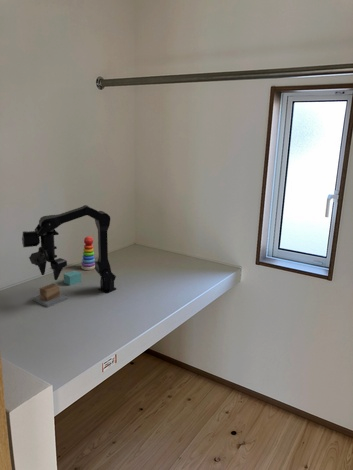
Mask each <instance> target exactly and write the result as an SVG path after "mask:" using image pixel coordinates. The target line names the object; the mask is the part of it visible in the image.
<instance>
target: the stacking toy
mask: <svg viewBox="0 0 353 470" xmlns="http://www.w3.org/2000/svg"><path fill="white" fill-rule="evenodd" d="M83 242H84V246H83V252H82V254H83V255H82V259H81V266H80V267H81V269H82V270H85V271H92V270H95V269H94V268H95V261H96V259H95V251H94V245H93V243H94V238H93V237H92V236H90V235H89V236H86V237H84V240H83Z"/></svg>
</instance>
